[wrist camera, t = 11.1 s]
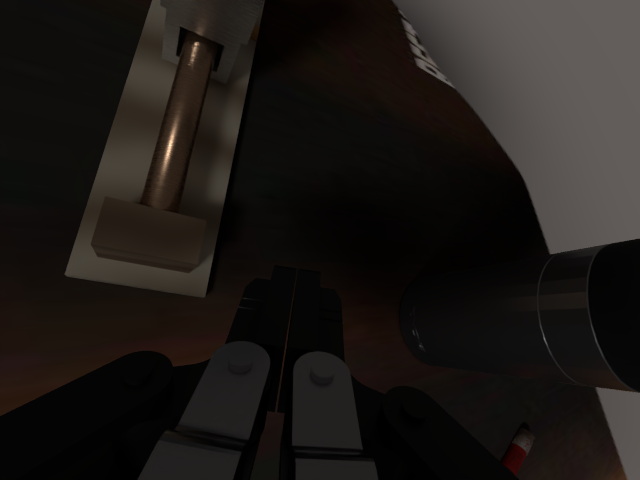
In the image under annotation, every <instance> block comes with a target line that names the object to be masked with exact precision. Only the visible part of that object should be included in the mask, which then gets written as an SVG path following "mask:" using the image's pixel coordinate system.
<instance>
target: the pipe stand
mask: <svg viewBox="0 0 640 480" xmlns="http://www.w3.org/2000/svg"><path fill="white" fill-rule="evenodd" d="M264 2H265V0H264ZM263 7H264V3H263V5H262V8H261V10H260V13H259V15H258V18H257V20H256V23H255V25H254V28H253V30H252V33H251V36H250V38H249V41H248V43H247V45H245V44H243V43H241V45H240V48H239V51H238V53H237V56H236V59H235V61H234V64H233V67H232V69H231V72H230V75H229V77H228V80H227V83H226V84H224V83H221V82H219V81H216V80H214V79H211V78H210V82H209V86H208V90H207V95H206V99H205V103H204V107H203V111H202V116H201V120H200V124H199V128H198V132H197V136H196V141H195V145H194V149H193V153H192V157H191V162H190V166H189V170H188V174H187V178H186V182H185V187H184V191H183V195H182V199H181V203H180V208H179V212H178V214H177V213H173V212H169V211H165V210H161V209H157V208H153V207H148V206H144V205H140V200H141V197H142V193H143V189H144V186H145V182H146V178H147V175H148V171H149V167H150V164H151V160H152V156H153V153H154V149H155V146H156V142H157V138H158V135H159V131H160V127H161V124H162V120H163V116H164V113H165V109H166V105H167V102H168V98H169V95H170V91H171V87H172V84H173V80H174V76H175V73H176V69H177V65H176V64H174V63H171V62H169V61H166V60H164V59H161V58H162V48H163V38H164V27H165V17H166V8H164V7H162V6H160V0H152V3H151V6H150V9H149V12H148V16H147V19H146V22H145V25H144V28H143V31H142V34H141V37H140V41H139V44H138V47H137V50H136V53H135V56H134V59H133V62H132V66H131V69H130V72H129V75H128V78H127V81H126V84H125V88H124V91H123V94H122V97H121V100H120V103H119V106H118V109H117V113H116V116H115V119H114V122H113V125H112V128H111V131H110V134H109V138H108V141H107V144H106V147H105V150H104V153H103V156H102V159H101V163H100V166H99V169H98V172H97V175H96V178H95V181H94V185H93V188H92V191H91V194H90V197H89V200H88V203H87V206H86V210H85V213H84V216H83V219H82V222H81V225H80V228H79V231H78V235H77V238H76V241H75V244H74V247H73V250H72V253H71V256H70V260H69V263H68V266H67V269H66V272H65V275H66V276H68V277H74V278H80V279H87V280H93V281H100V282H106V283H113V284H119V285H125V286H132V287H138V288H145V289H151V290H158V291H164V292H170V293H177V294H183V295H190V296H196V297H205V295H206V290H207V285H208V280H209V275H210V270H211V265H212V260H213V255H214V250H215V245H216V240H217V235H218V231H219V226H220V221H221V216H222V211H223V206H224V201H225V196H226V191H227V186H228V181H229V176H230V171H231V166H232V161H233V156H234V151H235V146H236V141H237V136H238V131H239V126H240V121H241V116H242V111H243V106H244V101H245V96H246V91H247V86H248V81H249V77H250V72H251V67H252V62H253V57H254V52H255V47H256V42H257V38H258V33H259V28H260V22H261V17H262V12H263Z"/></svg>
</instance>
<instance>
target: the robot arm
mask: <svg viewBox="0 0 640 480" xmlns="http://www.w3.org/2000/svg"><path fill="white" fill-rule="evenodd" d="M296 269H297V268H290V267H283V266H276V265H275V266H274V269H273V273H272V277H271V280H266V279H259V278H255V279H254V280H253V281H252V282H251V283H249V284H248V285H247V286H246V287H245V290H244V293H243V296H242V300H241V301H240V304H239V308H238V310H237V312H236V315H235V318H234V321H233V323H232V326H231V329H230V332H229V335H228V337H227V340H226V343H225V345H223V346H221V347H220V348H219V349H217V350H216V352H215V353H214V354H213V356H212V357H211V358H210V359H209V360H206V361H204V362H201V363H197V364H192V365H184V366H176V367H173V365H172V363H171V361H170V360H169V359H168V358H167V357H166V356H165V355H163V354H161V353H158V352H153V351H139V352H134V353H131V354H128V355H125V356H123V357H121V358H119V359H117V360H115V361H113V362H110V363H108V364H106V365H104V366H102V367H100V368H98V369H96V370H94V371H92V372H90V373H88V374H86V375H84V376H82V377H80V378H78V379H76V380H74V381H72V382H69V383H67V384H65V385H63V386H61V387H59V388H57V389H55V390H53V391H51V392H49V393H47V394H45V395H43V396H41V397H39V398H37V399H35V400H33V401H31V402H28V403H26V404H24V405H22V406H20V407H18V408H16V409H14V410H12V411H10V412H8V413H6V414H4V415H2V416H0V480H250V477H251V473H252V469H253V465H254V461H255V458H256V454H257V450H258V446H259V442H260V437H261V435H262V432H263V430H264V427H265V421H266V415H267V411H271V412H275V407H276V400H277V394H278V387H279V381H280V374H281V368H282V362H283V355H284V349H285V342H286V335H287V329H288V322H289V316H290V309H291V302H292V296H293V289H294V283H295V276H296ZM400 325H401V331H402V334H403V337H404V340H405V342H406V344H407V346H408V348H409V349H410V351H411V352H412V353H413V354H414V355H415V357H417V358H418V359H419V360H420V361H422V362H424V363H426V364H428V365H432V366H439V367H446V368H454V369H461V370H467V371H475V372H483V373H490V374H498V375H506V376H513V377H521V378H529V379H536V380H544V381H552V382H559V383H567V384H575V385H582V386H592V387H599V388H607V389H615V390H622V391H630V392H638V393H640V239H635V240H629V241H624V242H618V243H612V244H607V245H602V246H595V247H590V248H584V249H578V250H573V251H567V252H561V253H557V254H551V255H545V256H540V257H534V258H528V259H522V260H517V261H511V262H505V263H499V264H494V265H488V266H482V267H477V268H471V269H465V270H459V271H453V272H447V273H441V274H436V275H430V276H425V277H421V278H419V279H417V280H415V281H414V282H413V283H412V284H411V285H410V286H409V287H408V289H407V290H406V292H405V294H404V296H403V299H402V302H401V308H400ZM277 412H280V413H285V416H284V424H283V431H282V437H281V443H280V463H279V480H519V479H518V478H517V477H516V476H515V475H514V474H513V473H511V472H510V471H509V470H508V469H507V468H506V467H505V466H504V465H503V464H502V463H501V462H500V461H499V460H498V459H496V458H495V457H494V456H493V455H492V454H491V453H490V452H489V451H488V450H487V449H486V448H485V447H484V446H482V445H481V444H480V443H479V442H478V441H477V440H476V439H475V438H474V437H473V436H472V435H471V434H470V433H469V432H467V431H466V430H465V429H464V428H463V427H462V426H461V425H460V424H459V423H458V422H457V421H456V420H455V419H453V418H452V417H451V416H450V415H449V414H448V413H447V412H446V411H445V410H444V409H443V408H442V407H441V406H440V405H438V404H437V403H436V402H435V401H434V400H433V399H432V398H431V397H430V396H428V395H427V394H426V393H424V392H422V391H420V390H418V389H416V388H413V387H408V386H398V387H394V388H392V389H390V390H389V391H388V392H387V393H386V394H383V393H380V392H378V391H376V390H373V389H371V388H369V387H367V386H365V385H363V384H361V383H360V382H358V381H357V380H356V379H355V378H354V377H353V376H352V375H351V374H350V371H349V369H348V367H347V366H346V364H345V360H344V343H343V324H342V305H341V299H340V297H339V296H338V294H337V293H336V291H335V290H334V289H328V288H321V287H320V272H317V271H311V270H304V269H298V276H297V282H296V288H295V295H294V301H293V307H292V314H291V320H290V327H289V334H288V341H287V348H286V355H285V362H284V369H283V375H282V382H281V389H280V396H279V403H278V410H277Z"/></svg>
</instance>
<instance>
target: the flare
mask: <svg viewBox="0 0 640 480" xmlns="http://www.w3.org/2000/svg"><path fill="white" fill-rule="evenodd" d="M534 439H535V437H534V435H533V434H532V433H531V432H529V431H528V430H526V429H524V428H520V429H519V431H518V432H517V434H516V437H515V439H513V441H512V444H511V446H510V447H509V449H508V451H507V453H506V455H505V456H504V458H503V460H502V462H501V463H502V464H503V465H504V466H505V467H506V468H507V469H508V470H509V471H510V472H511V473H513V474H514V475H515V476H516V474H517V472H518V470H519V468H520V466H521V464H522V462H523V460H524V458H525V457H526V456H527V454H528V452H529V450H530V448H531V446H532V444H533V442H534V441H535V440H534Z"/></svg>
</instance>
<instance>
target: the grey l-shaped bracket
mask: <svg viewBox="0 0 640 480" xmlns="http://www.w3.org/2000/svg"><path fill="white" fill-rule="evenodd" d="M263 3H264V0H160V6H162V7H164V8H166V17H165V27H164V38H163V48H162V58H161V59H164V60H166V61H169V62H171V63H174V64H176V65H178V62H179V58H180V54H181V51H182V47H183V44H184V40H185V36H186V33H187V29H188V30H190V31H192V32H194V33H197V34H199V35H201V36H203V37H206V38H208V39H210V40H212V41H215V42H217V43H219V44H218V49H217V53H216V57H215V61H214V65H213V69H212V74H211V79H214V80H216V81H219V82H221V83H224V84H226V83H227V80H228V77H229V75H230V72H231V69H232V67H233V64H234V61H235V59H236V56H237V53H238V51H239V48H240V45H241V43H243V44H245V45H247V43H248V41H249V38H250V36H251V33H252V30H253V28H254V25H255V23H256V20H257V18H258V15H259V13H260V10H261V8H262V5H263Z"/></svg>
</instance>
